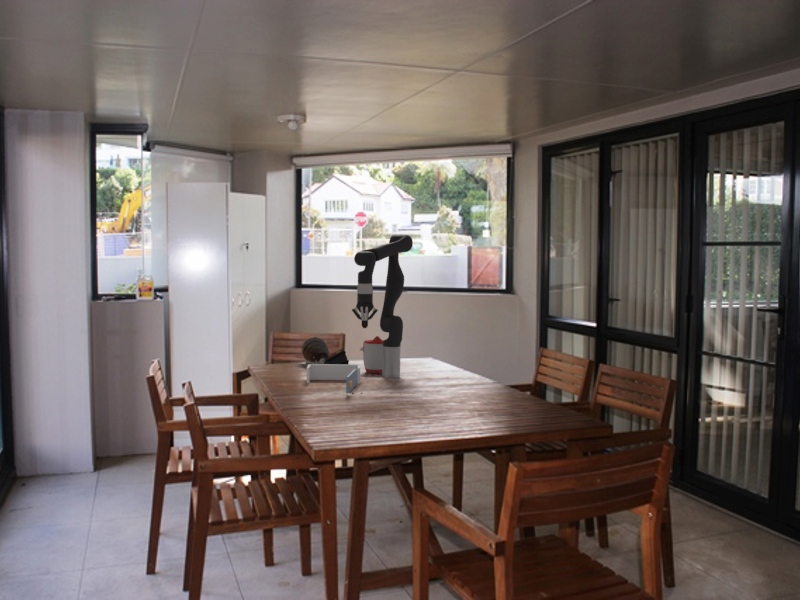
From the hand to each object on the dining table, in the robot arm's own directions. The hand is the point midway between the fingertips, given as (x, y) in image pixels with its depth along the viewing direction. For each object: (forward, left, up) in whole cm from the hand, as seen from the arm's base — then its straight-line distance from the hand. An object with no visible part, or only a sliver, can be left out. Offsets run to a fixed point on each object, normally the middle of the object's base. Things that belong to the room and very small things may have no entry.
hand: (364, 328), depth 359 cm
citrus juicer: (-40, +6, -29) cm, 50 cm away
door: (+14, -5, -27) cm, 31 cm away
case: (-4, -15, -29) cm, 33 cm away
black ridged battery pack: (-21, -14, -29) cm, 38 cm away
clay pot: (-60, -27, -29) cm, 72 cm away
